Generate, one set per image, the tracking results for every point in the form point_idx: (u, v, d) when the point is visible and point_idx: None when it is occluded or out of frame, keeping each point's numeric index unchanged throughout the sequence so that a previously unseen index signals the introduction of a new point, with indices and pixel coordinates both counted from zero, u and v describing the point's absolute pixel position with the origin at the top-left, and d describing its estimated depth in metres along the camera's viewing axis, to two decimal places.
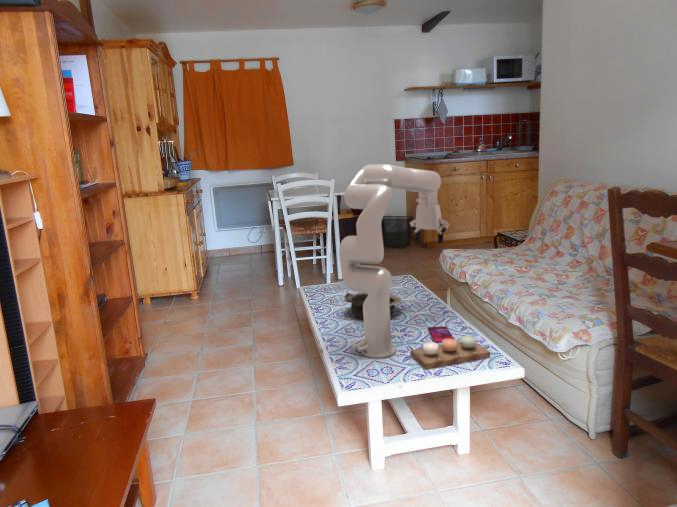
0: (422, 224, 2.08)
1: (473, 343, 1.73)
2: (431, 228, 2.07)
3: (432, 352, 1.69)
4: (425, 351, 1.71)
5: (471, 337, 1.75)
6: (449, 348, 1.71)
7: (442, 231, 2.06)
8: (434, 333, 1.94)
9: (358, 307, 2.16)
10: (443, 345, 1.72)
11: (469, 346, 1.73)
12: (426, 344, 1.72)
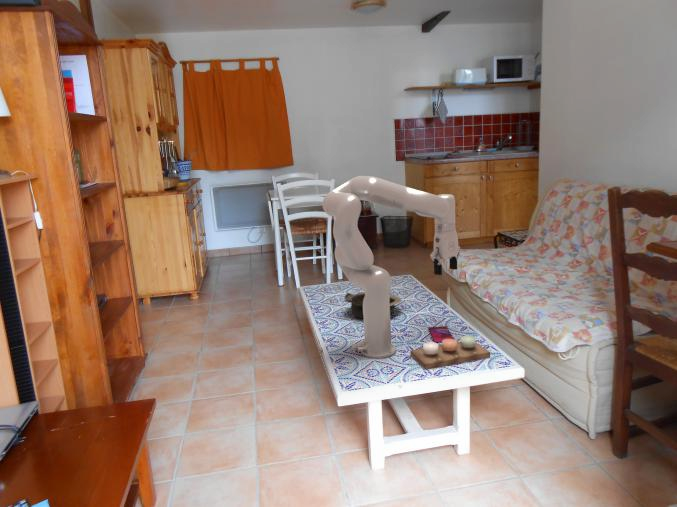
0: (449, 252, 1.88)
1: (473, 343, 1.73)
2: (455, 254, 1.91)
3: (432, 352, 1.69)
4: (425, 351, 1.71)
5: (471, 337, 1.75)
6: (449, 348, 1.71)
7: (457, 255, 1.95)
8: (434, 333, 1.94)
9: (358, 307, 2.16)
10: (443, 345, 1.72)
11: (469, 346, 1.73)
12: (426, 344, 1.72)
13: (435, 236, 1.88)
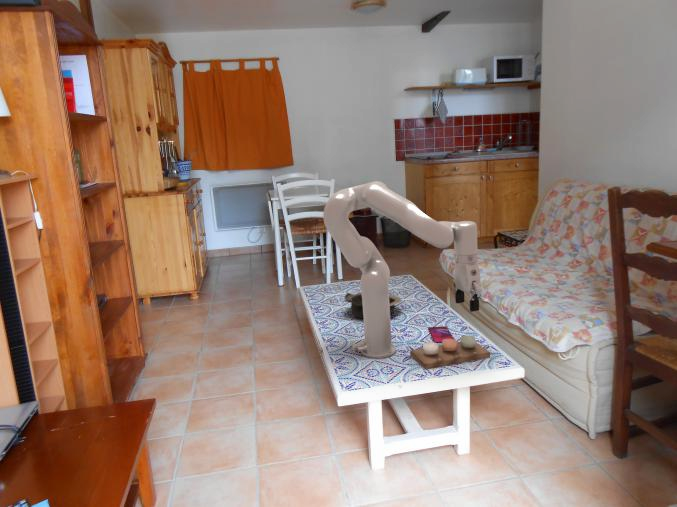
0: None
1: (473, 343, 1.73)
2: None
3: (432, 352, 1.69)
4: (425, 351, 1.71)
5: (471, 337, 1.75)
6: (449, 348, 1.71)
7: None
8: (434, 333, 1.94)
9: (358, 307, 2.16)
10: (443, 345, 1.72)
11: (469, 346, 1.73)
12: (426, 344, 1.72)
13: (469, 269, 1.66)
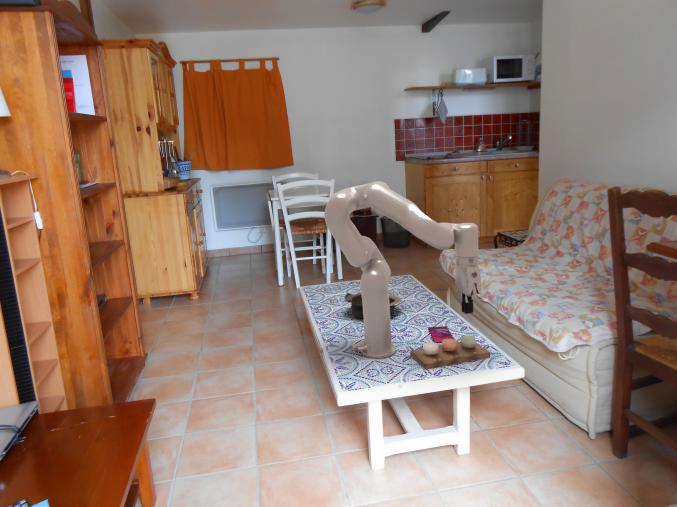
0: None
1: (473, 343, 1.73)
2: None
3: (432, 352, 1.69)
4: (425, 351, 1.71)
5: (471, 337, 1.75)
6: (449, 348, 1.71)
7: None
8: (434, 333, 1.94)
9: (358, 307, 2.16)
10: (443, 345, 1.72)
11: (469, 346, 1.73)
12: (426, 344, 1.72)
13: (470, 271, 1.65)
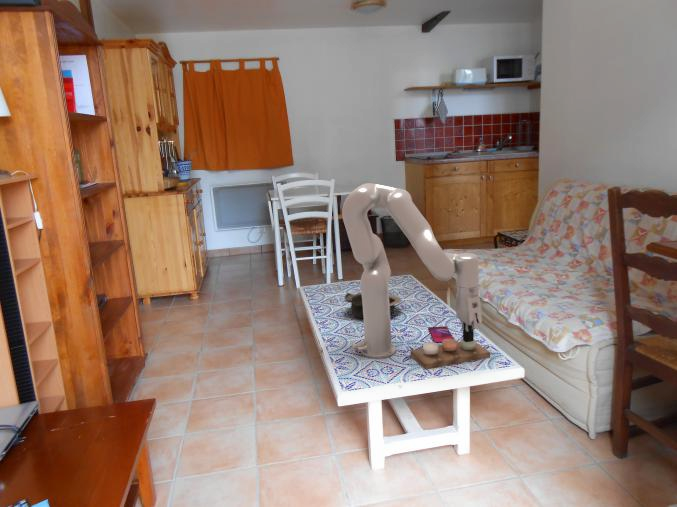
0: None
1: (473, 346, 1.73)
2: None
3: (432, 352, 1.69)
4: (425, 351, 1.71)
5: None
6: (449, 348, 1.71)
7: None
8: (434, 333, 1.94)
9: (358, 307, 2.16)
10: (443, 345, 1.72)
11: (469, 349, 1.73)
12: (426, 344, 1.72)
13: (471, 301, 1.67)
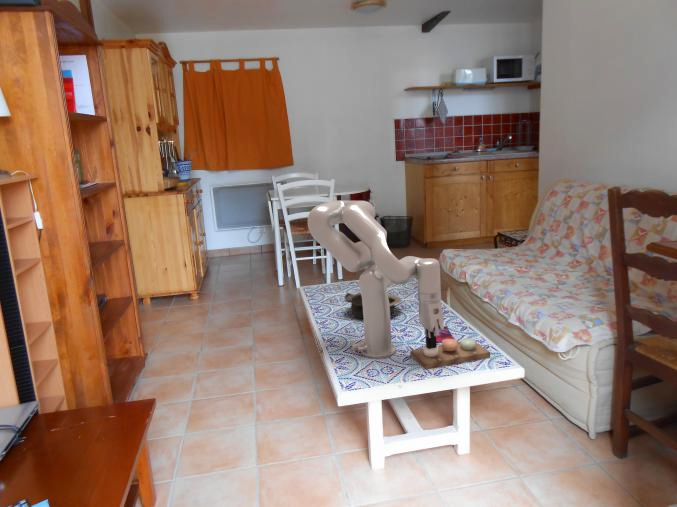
0: None
1: (473, 346, 1.73)
2: None
3: (432, 355, 1.70)
4: (425, 354, 1.71)
5: (471, 340, 1.75)
6: (449, 348, 1.71)
7: None
8: None
9: (358, 307, 2.16)
10: (443, 345, 1.72)
11: (469, 349, 1.73)
12: (426, 347, 1.72)
13: (432, 308, 1.64)
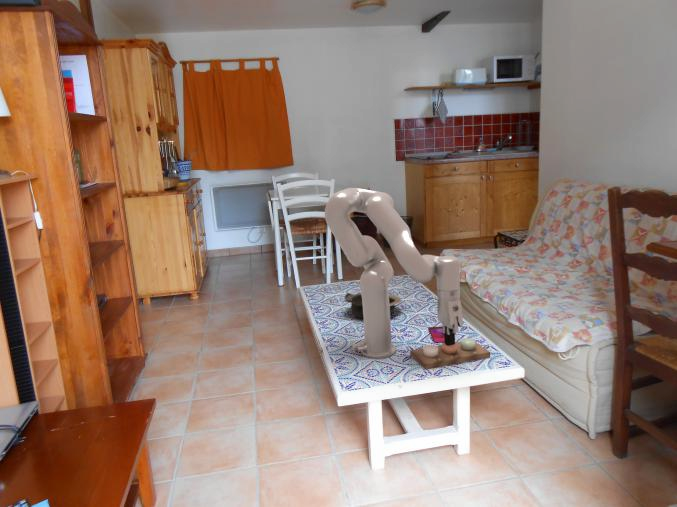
0: None
1: (473, 346, 1.73)
2: None
3: (432, 355, 1.70)
4: (425, 354, 1.71)
5: (471, 340, 1.75)
6: (449, 351, 1.71)
7: None
8: (434, 333, 1.94)
9: (358, 307, 2.16)
10: (443, 348, 1.73)
11: (469, 349, 1.73)
12: (426, 347, 1.72)
13: (451, 305, 1.66)
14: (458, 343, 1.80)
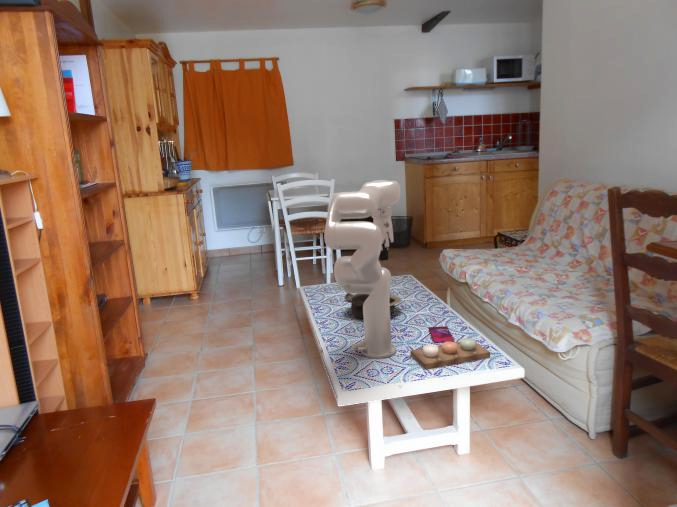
0: None
1: (473, 346, 1.73)
2: None
3: (432, 355, 1.70)
4: (425, 354, 1.71)
5: (471, 340, 1.75)
6: (449, 351, 1.71)
7: None
8: (434, 333, 1.94)
9: (358, 307, 2.16)
10: (443, 348, 1.73)
11: (469, 349, 1.73)
12: (426, 347, 1.72)
13: (383, 221, 1.88)
14: (458, 343, 1.80)
